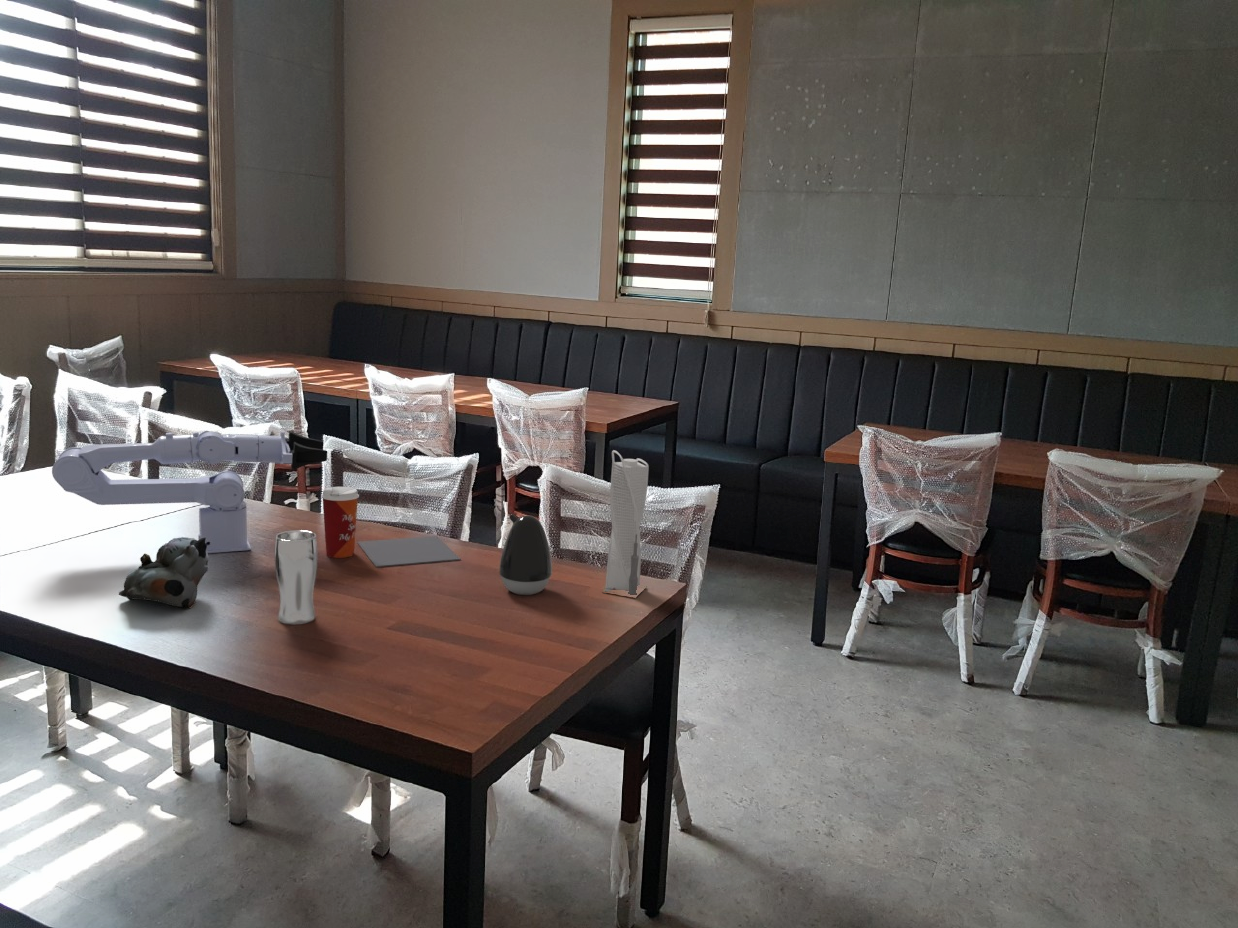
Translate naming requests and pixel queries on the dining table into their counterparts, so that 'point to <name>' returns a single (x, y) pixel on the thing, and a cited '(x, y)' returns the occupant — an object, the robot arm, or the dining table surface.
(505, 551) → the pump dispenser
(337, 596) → the dining table surface
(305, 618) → the beer glass
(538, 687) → the dining table surface
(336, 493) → the paper cup
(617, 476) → the skyscraper
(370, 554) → the mat
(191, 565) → the lucky cat figurine
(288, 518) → the dining table surface
